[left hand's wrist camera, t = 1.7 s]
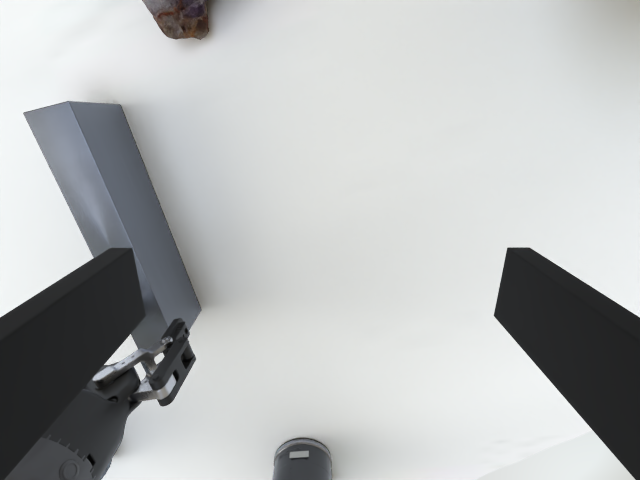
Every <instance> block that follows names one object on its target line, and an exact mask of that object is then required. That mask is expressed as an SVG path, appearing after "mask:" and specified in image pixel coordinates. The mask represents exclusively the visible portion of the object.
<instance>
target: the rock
mask: <svg viewBox="0 0 640 480" xmlns="http://www.w3.org/2000/svg"><path fill="white" fill-rule="evenodd" d="M142 1H143V2H144V4H145V5H146V7H147V8H148V10H149V11H150V12H151V13H152V15H153V18H154V19H155V21H156V22H157V24H158V26H159V27H160V29H161V30H162V32H163V33H164V34H165V35H166V36H167V37H169V38H173V39H181V38H190V37H194V38H197V39H200V40H201V39H202V38H204V37H205V36H206V35H207V33H208V32H209V29H208V16H207V5H206V4H207V1H208V0H142Z"/></svg>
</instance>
